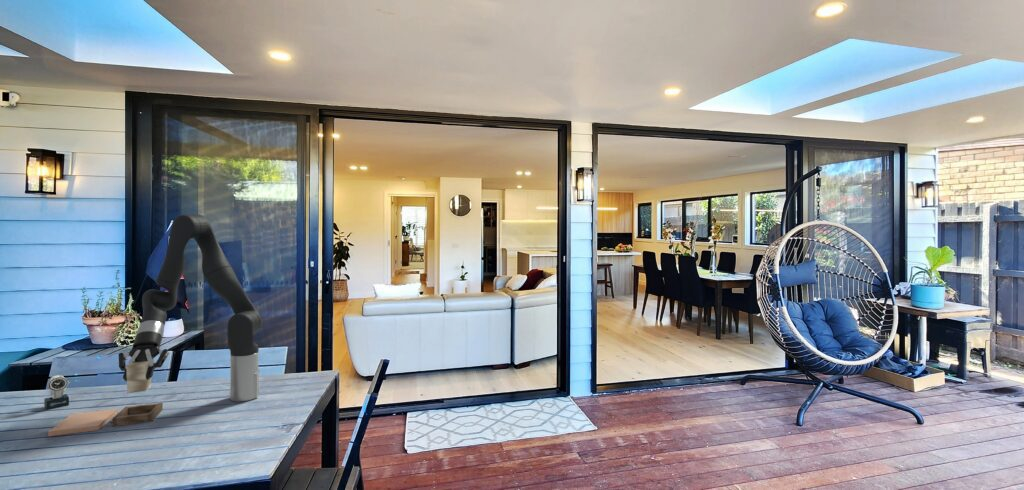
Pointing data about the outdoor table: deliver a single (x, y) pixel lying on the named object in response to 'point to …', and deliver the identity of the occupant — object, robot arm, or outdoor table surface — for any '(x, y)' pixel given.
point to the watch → (57, 393)
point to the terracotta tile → (83, 422)
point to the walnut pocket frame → (124, 419)
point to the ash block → (137, 377)
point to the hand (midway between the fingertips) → (137, 379)
